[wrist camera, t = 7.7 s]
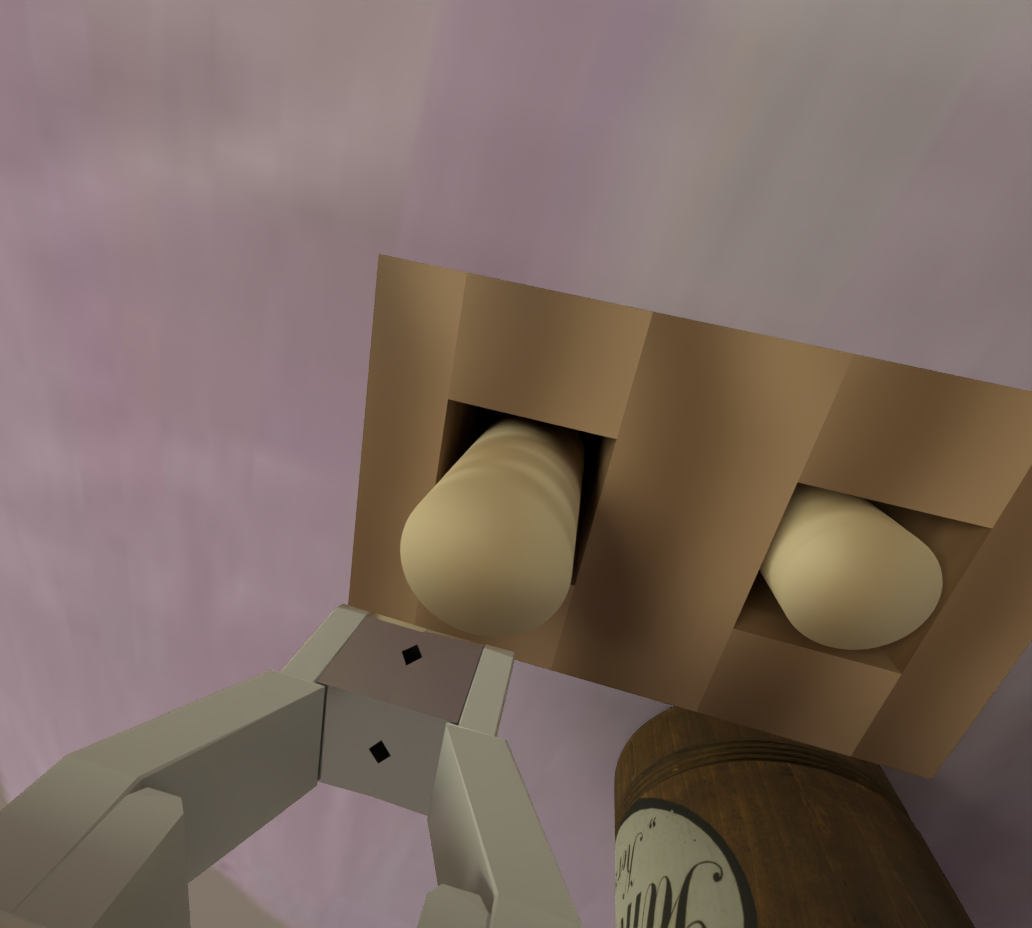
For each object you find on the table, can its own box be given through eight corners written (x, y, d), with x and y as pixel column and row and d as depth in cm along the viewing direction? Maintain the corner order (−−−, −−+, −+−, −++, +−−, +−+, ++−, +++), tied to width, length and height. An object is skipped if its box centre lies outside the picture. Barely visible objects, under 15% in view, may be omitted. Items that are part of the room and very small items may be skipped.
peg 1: (596, 419, 17) (592, 507, 10) (570, 515, 19) (550, 656, 11) (491, 394, 18) (410, 462, 10) (473, 490, 19) (392, 611, 12)
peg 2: (833, 454, 20) (972, 547, 12) (795, 537, 21) (899, 665, 14) (736, 432, 20) (814, 508, 13) (705, 515, 22) (759, 628, 14)
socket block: (935, 371, 19) (1187, 424, 11) (814, 609, 24) (931, 779, 15) (466, 272, 21) (378, 253, 13) (431, 509, 26) (347, 611, 17)
